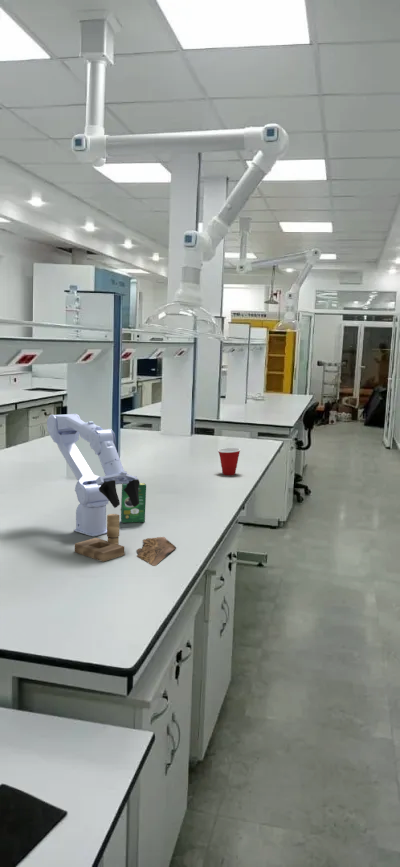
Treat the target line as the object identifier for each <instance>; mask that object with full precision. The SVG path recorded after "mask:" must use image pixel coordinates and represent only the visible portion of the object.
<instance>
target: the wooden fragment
mask: <svg viewBox="0 0 400 867" xmlns="http://www.w3.org/2000/svg"><path fill="white" fill-rule="evenodd" d="M142 543H143V544H142V547H140V548H138V549H136V552H137V555H136V557H137V558H138V559H140V560H141V561H145V562H146V563H148V564H149V565H150V566H151V567H156V566H157V565H158V564H159V563H161V561H162V560H164V559H165V558H166V557H167V556H168V555H169V554H170V553H172V552H173V551H174V550H175V549H177V547H176V546H175V545H174V544H173V543H172V542H171V541H169V540H168V539H167V537H165V536H158V537H149V538H148V537H147V538H145V539H142Z"/></svg>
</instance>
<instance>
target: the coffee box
mask: <svg viewBox="0 0 400 867" xmlns="http://www.w3.org/2000/svg"><path fill="white" fill-rule="evenodd" d="M126 487H127V484H121V498H120V499H121V502H120V503H121V504H120V506H121V507H120V522H121V524H122V523H123V524H124V523H125V524H128V523H145V522H146V501H147V484H146V483H144V482H143V483H142V482H140V483H139V490H138V495H139V504H138V505H137V506H136V507H134V506H133V505H132V503H131V500H130V498H129V496H128V495H127V493H126V492H125V491H124V489H125V488H126Z"/></svg>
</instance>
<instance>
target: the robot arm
mask: <svg viewBox="0 0 400 867" xmlns="http://www.w3.org/2000/svg"><path fill="white" fill-rule="evenodd" d="M46 427H47V428H46V430H47V432H48V434H49V436H50V438H51V439H52V441H53V442H54V443H55V444H56V445H57V447H58V450H59V451H60V453H61V455H62V456H63V458H64V460H65V461H66V463H67V465H68V467H69V468H70V469H71V471H72V473H73V475H74V477H75V479H76V480H77V481H76V484H75V487H74V491H75V494H76V498H77V502H79V504H78V506H76V509H75V510H76V511H75V528H73V531H74V532H76V533H80V534H83V535H87V536H89V537H93V538H95V537H97V536H100V535H104V534H107V505H109V503H110V504H111V506H113V508H114V509H116V508H118V507H119V506H121V504H120V503H121V502H120V499H119V495H118V493H117V492H118V491H117V487H116V485H117V486H118V485H122V484H127V487H126V488H125V489H124V491H125V492H126V493H127V495H128V496H129V498H130V500H131V503H132V505H133V506H134V507H136V506H137V505H138V504H139V495H138V490H139V483H141V482H140V480H139V478H138V477H137V476H136V475H132V474H128V471H125V469H124V466H123V463H122V461H121V458H120V455H119V453H118V450H117V447H116V445H115V444H116V433H115V432H114V430H112V428H106V429H104V428H102V426H100V425H97V424H95V422H94V421H93V420H90V421H87V422H85V421H84V420H82V419H81V417H80V415H79V414H77V413H75V412H73V413H68V414H67V413H66V414H50V415H49V416H48V418H46ZM80 437H81V439H83V440H84V441H86V442H88V443H89V446H90V448H91V449H92V450H93V451H94V454H95V455H97V457H98V459H99V462H100V465H101V467H102V470H103V473H104V476H100V475H97V474H94V472H93V471H92V469H91V467H90V466H89V464H88V463H87V461H86V459H85V458H84V456H83V455H82V453H81V451H80V450H79V448H78V447H77V445H76V442H78V441H79V439H80Z"/></svg>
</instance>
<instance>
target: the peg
mask: <svg viewBox="0 0 400 867" xmlns="http://www.w3.org/2000/svg"><path fill="white" fill-rule="evenodd" d="M106 529H107V533H106V536H107V541H108V542H112V543H115V544H118V545H120V544H119V543H120V542H119V541H120V540H119V538H120V515H119V514H117V513H109V514H106Z"/></svg>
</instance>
